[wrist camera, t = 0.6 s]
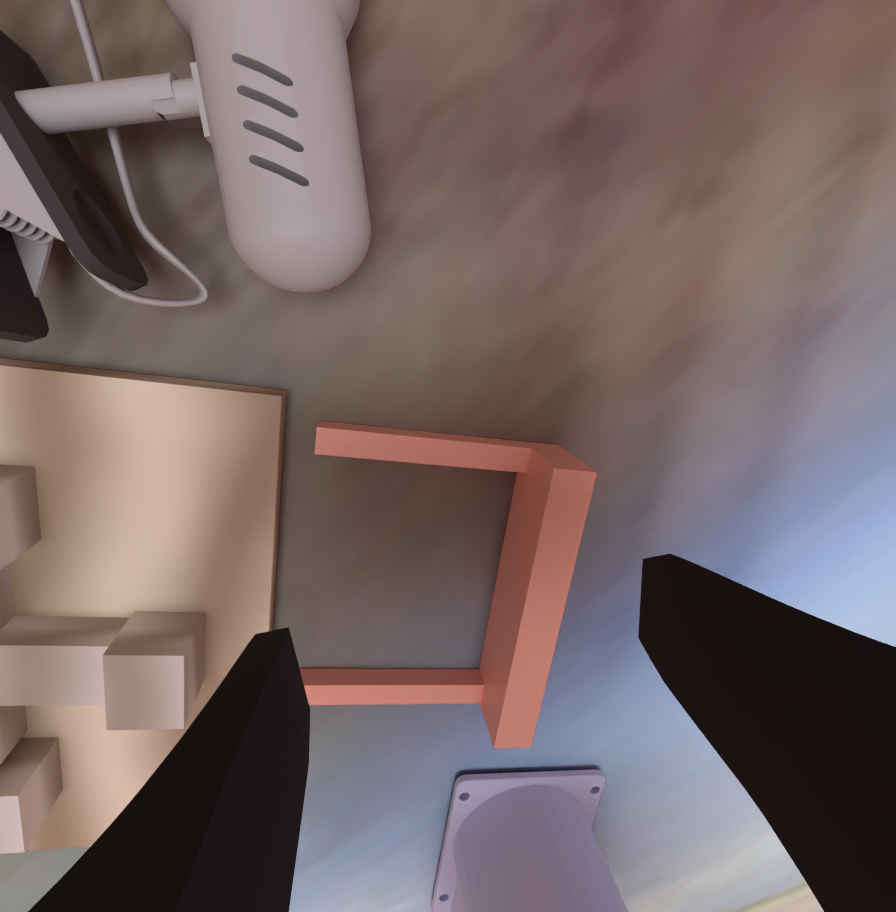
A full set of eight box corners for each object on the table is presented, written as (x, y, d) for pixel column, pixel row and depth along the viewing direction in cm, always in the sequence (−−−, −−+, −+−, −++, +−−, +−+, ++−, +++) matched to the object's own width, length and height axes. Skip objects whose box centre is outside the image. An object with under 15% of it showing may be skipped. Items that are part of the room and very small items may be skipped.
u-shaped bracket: (559, 445, 20) (597, 472, 17) (507, 687, 24) (531, 747, 20) (318, 420, 18) (310, 445, 15) (298, 687, 22) (287, 754, 18)
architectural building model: (286, 390, 18) (258, 424, 13) (262, 810, 23) (236, 946, 18) (-279, 326, 15) (-600, 339, 10) (-153, 831, 20) (-318, 1002, 15)
